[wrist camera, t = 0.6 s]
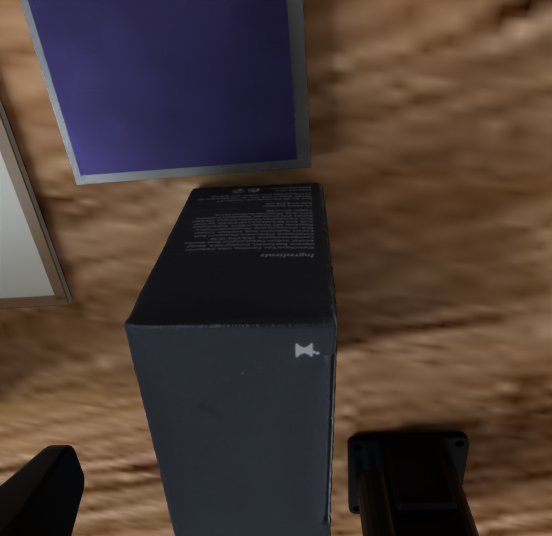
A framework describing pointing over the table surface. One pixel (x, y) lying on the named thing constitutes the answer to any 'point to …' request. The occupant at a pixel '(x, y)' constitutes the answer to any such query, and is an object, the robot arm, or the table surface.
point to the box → (242, 362)
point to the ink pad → (174, 85)
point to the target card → (24, 237)
